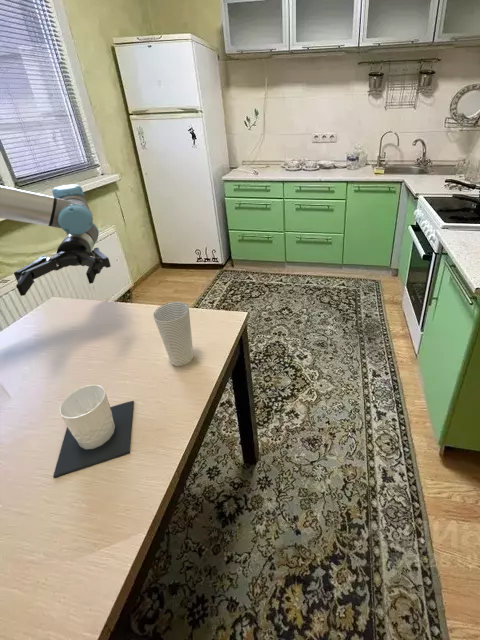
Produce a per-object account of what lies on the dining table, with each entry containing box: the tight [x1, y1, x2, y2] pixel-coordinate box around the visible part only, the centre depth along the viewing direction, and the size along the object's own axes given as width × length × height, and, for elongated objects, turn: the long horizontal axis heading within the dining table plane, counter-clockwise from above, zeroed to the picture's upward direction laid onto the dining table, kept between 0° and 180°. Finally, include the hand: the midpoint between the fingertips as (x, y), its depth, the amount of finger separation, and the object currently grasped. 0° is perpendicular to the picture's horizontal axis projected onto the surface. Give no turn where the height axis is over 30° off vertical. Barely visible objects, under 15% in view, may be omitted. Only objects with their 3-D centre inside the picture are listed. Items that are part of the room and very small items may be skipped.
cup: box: [153, 301, 194, 367], centre depth 84 cm, size 8×8×16 cm
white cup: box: [58, 384, 115, 449], centre depth 65 cm, size 8×8×10 cm
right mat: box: [52, 400, 135, 479], centre depth 67 cm, size 13×13×1 cm
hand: (55, 284), depth 73 cm, fingers open, 13 cm apart
